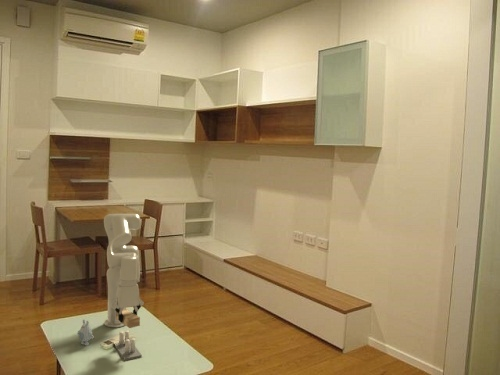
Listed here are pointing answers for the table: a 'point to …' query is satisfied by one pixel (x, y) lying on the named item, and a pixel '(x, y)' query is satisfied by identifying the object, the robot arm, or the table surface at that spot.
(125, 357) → the peg stand
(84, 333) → the toy figure
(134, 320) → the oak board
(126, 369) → the table surface
